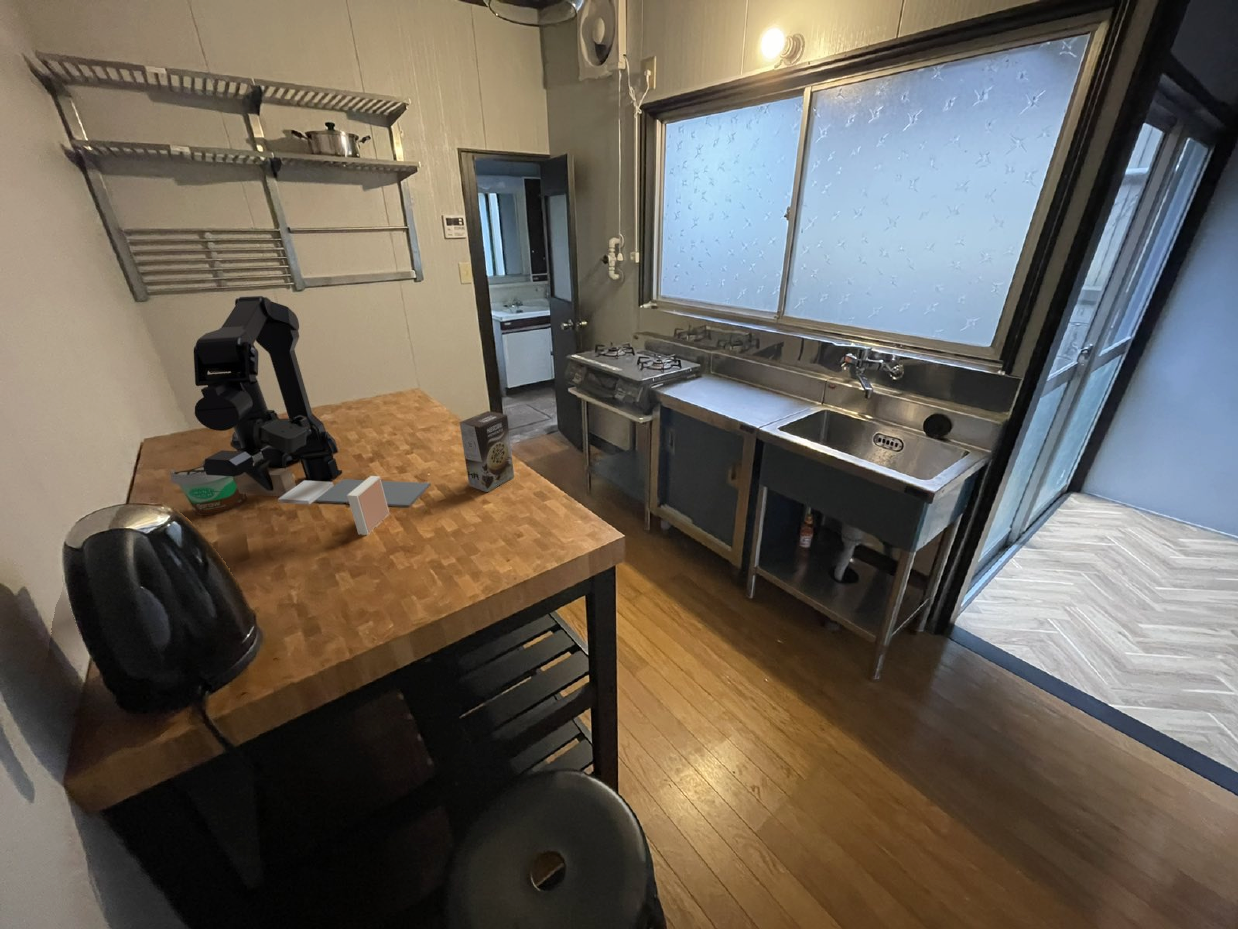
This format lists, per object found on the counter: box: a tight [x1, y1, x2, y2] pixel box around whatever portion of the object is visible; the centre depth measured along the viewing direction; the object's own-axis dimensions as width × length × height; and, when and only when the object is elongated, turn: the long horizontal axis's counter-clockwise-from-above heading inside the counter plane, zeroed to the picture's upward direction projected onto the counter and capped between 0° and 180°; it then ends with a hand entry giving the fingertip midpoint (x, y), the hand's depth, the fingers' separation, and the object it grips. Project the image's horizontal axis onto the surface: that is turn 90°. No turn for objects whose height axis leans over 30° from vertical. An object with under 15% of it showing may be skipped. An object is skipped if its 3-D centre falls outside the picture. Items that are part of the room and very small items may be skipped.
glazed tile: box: [347, 475, 390, 536], centre depth 99 cm, size 2×8×9 cm, turn 173°
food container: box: [170, 465, 248, 516], centre depth 104 cm, size 12×6×10 cm, turn 117°
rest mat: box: [314, 478, 432, 508], centre depth 112 cm, size 22×10×1 cm, turn 84°
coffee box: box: [459, 410, 515, 493], centre depth 113 cm, size 9×6×16 cm
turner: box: [232, 467, 335, 505], centre depth 92 cm, size 16×7×4 cm, turn 83°
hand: (276, 486), depth 93 cm, fingers closed on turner, 3 cm apart
